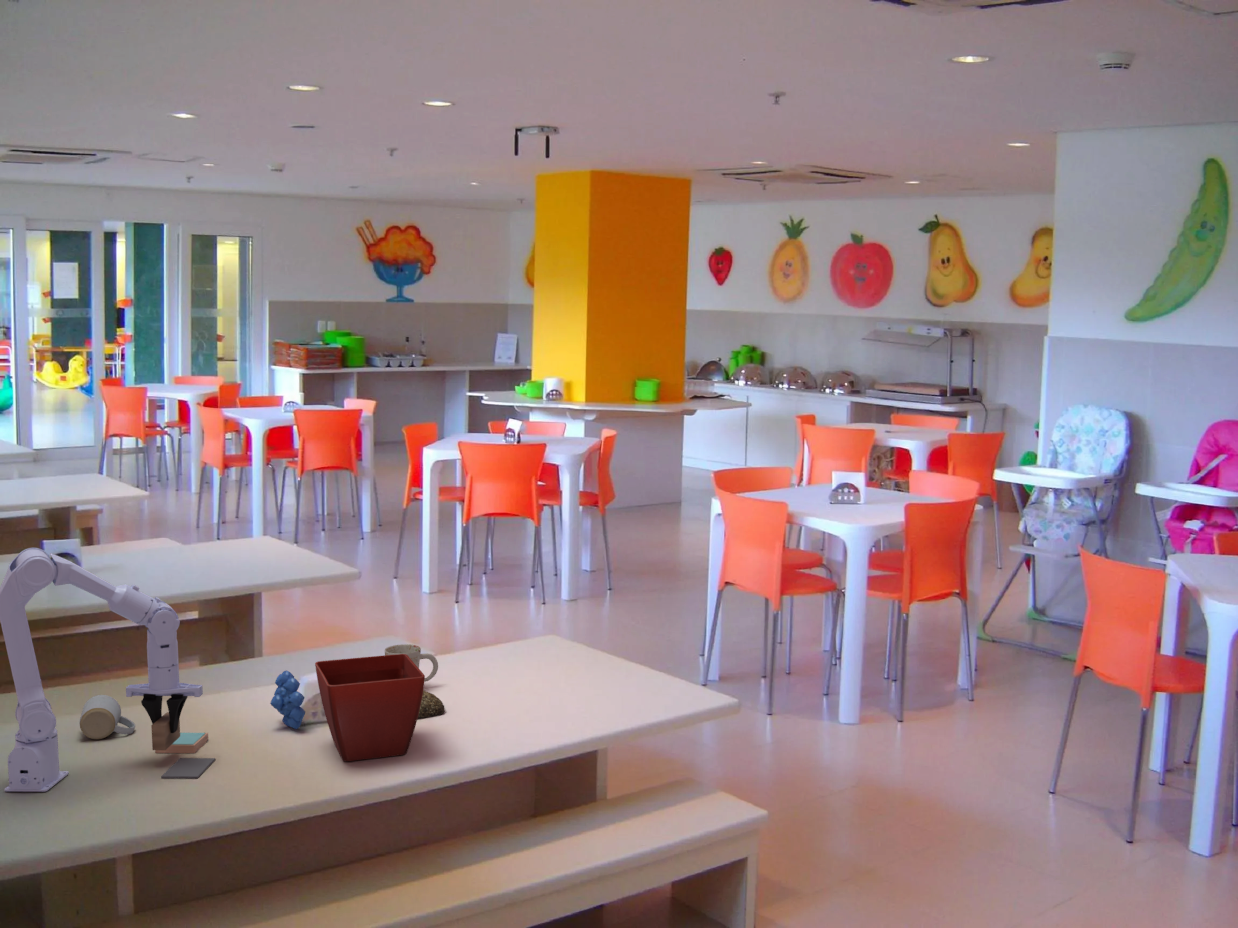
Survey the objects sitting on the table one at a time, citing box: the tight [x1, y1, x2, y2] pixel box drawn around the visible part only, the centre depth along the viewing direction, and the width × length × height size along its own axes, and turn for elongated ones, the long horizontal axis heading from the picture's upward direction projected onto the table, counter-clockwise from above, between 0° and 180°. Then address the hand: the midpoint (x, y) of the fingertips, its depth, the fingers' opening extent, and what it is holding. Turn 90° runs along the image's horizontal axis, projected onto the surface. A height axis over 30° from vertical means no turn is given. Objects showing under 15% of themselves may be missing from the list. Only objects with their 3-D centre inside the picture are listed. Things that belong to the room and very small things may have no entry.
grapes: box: [269, 670, 306, 730], centre depth 269 cm, size 12×7×12 cm, turn 37°
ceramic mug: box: [79, 694, 136, 740], centre depth 265 cm, size 11×8×8 cm
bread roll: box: [417, 689, 446, 720], centre depth 281 cm, size 13×12×5 cm
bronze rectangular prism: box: [150, 711, 181, 751], centre depth 249 cm, size 8×2×5 cm, turn 179°
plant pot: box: [314, 654, 426, 762], centre depth 255 cm, size 19×19×17 cm
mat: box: [160, 757, 216, 780], centre depth 245 cm, size 10×7×1 cm
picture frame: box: [154, 732, 209, 754], centre depth 258 cm, size 2×8×8 cm
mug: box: [384, 643, 439, 683], centre depth 297 cm, size 8×13×10 cm, turn 115°
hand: (166, 731), depth 249 cm, fingers closed on bronze rectangular prism, 2 cm apart
